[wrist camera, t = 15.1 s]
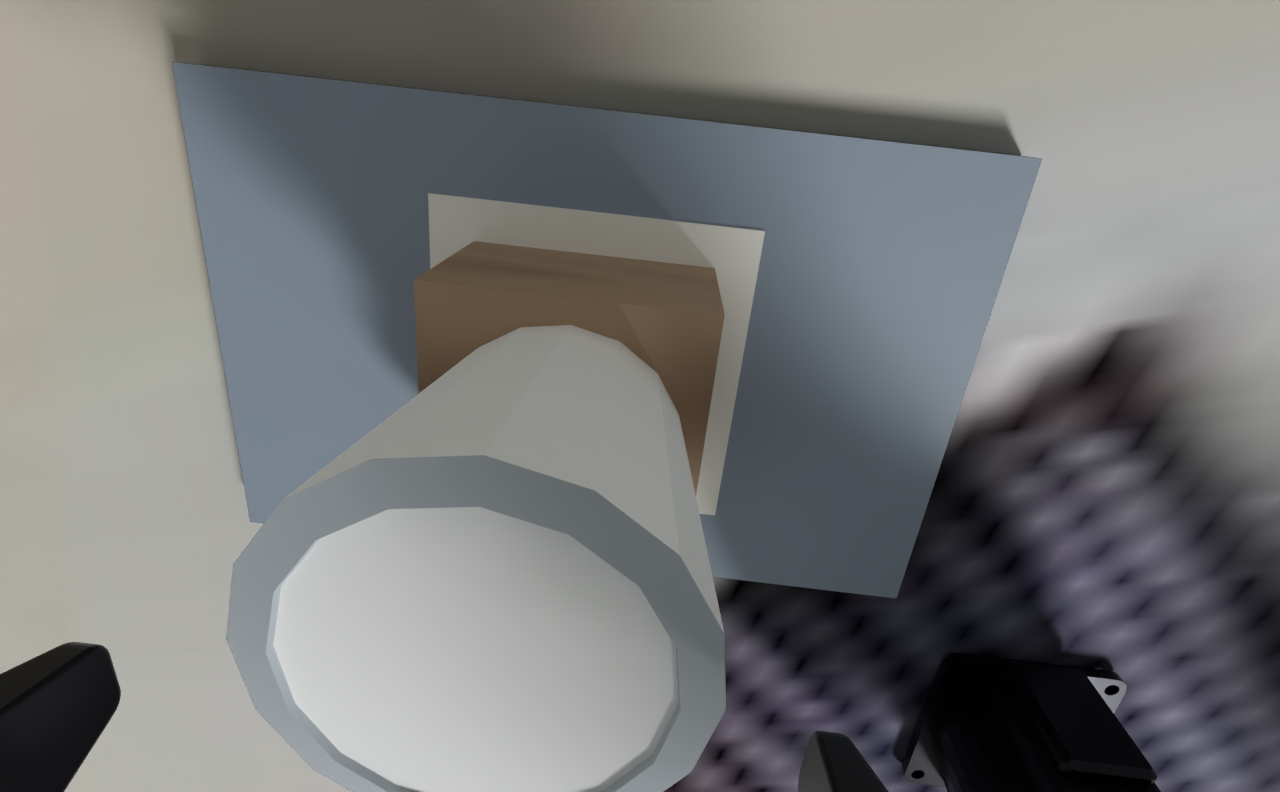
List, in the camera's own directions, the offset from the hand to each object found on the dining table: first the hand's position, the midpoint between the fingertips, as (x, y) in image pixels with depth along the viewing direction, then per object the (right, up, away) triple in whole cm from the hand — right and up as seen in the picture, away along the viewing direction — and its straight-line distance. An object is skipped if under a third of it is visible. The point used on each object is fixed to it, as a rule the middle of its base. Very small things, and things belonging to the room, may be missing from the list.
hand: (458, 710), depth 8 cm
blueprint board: (+1, +5, +12) cm, 13 cm away
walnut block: (+1, +5, +11) cm, 12 cm away
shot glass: (0, +3, +7) cm, 8 cm away
